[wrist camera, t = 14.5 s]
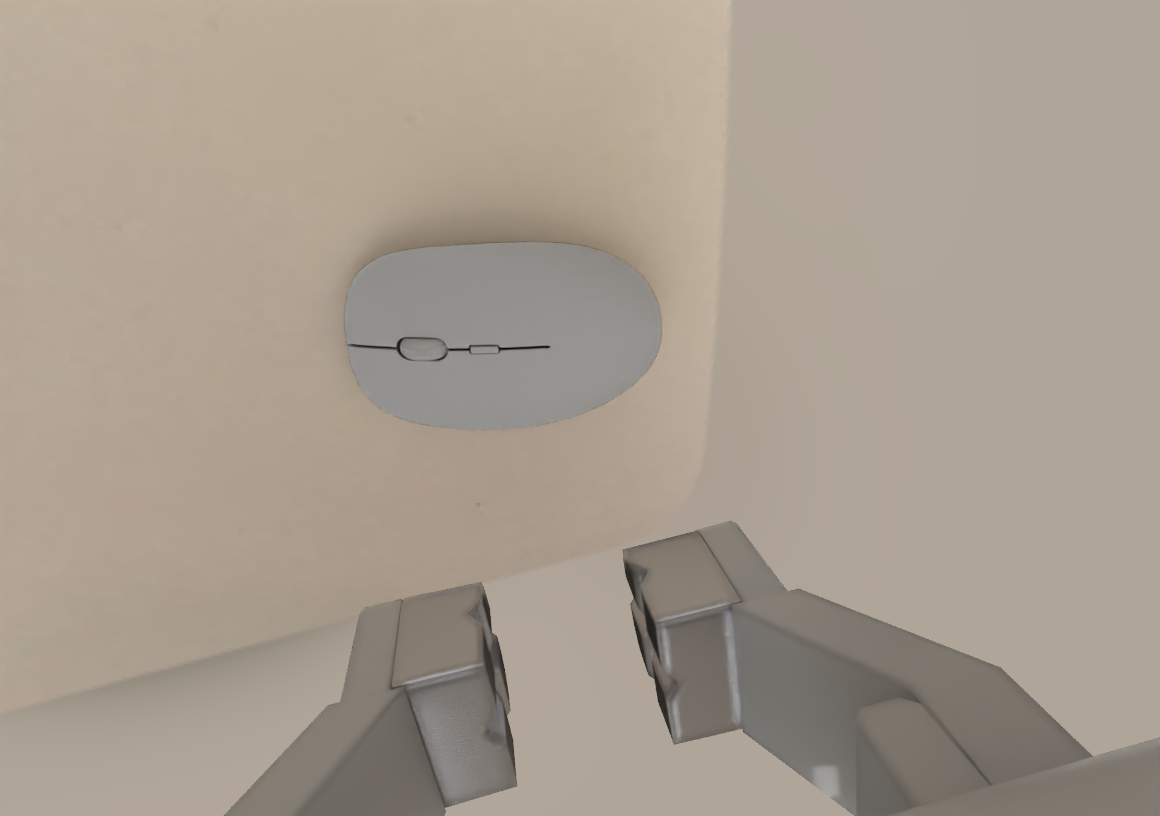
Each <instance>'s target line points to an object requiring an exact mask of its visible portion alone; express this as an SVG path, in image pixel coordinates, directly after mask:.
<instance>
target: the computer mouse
mask: <svg viewBox="0 0 1160 816" xmlns="http://www.w3.org/2000/svg"><path fill="white" fill-rule="evenodd" d="M344 322H345V335H346V343H347V349H348V353H349V358H350V362H351V366H352V369H353V372H354V374H355V377H356V379H357V381H358V384H359V385H360V387H361V388H362V390H363V392H364V393H365V395H366V396H367V397H368V398H369V399H370V400H371V401H372V402H373V403H374V404H375V405H376V406H378V407H379V408H380V409H382V410H384V411H385V412H387V413H389V414H391V415H394V416H396V417H398V418H401V419H404V420H407V421H411V422H414V423H418V424H423V425H428V426H434V427H440V428H449V429H460V430H504V429H516V428H525V427H532V426H538V425H544V424H548V423H553V422H557V421H561V420H564V419H567V418H571V417H574V416H576V415H579V414H582V413H585V412H587V411H590V410H592V409H594V408H596V407H599V406H601V405H603V404H605V403H607V402H608V401H610V400H612V399H614V398H615V397H617V396H619V395H620V394H622V393H623V392H625V391H626V390H627V389H629V388H630V387H631V386H633V385H634V384H635V383H636V382H637V381H638V380H639V379H640V378H641V377H642V376H643V375H644V374H645V373H646V372H647V370H648V369H649V368H650V366H651V365H652V363H653V361H654V359H655V358H656V355H657V353H658V350H659V347H660V343H661V336H662V319H661V313H660V308H659V304H658V301H657V299H656V297H655V294H654V292H653V290H652V289H651V287H650V285H649V284H648V283H647V281H646V280H645V279H644V277H643V276H642V275H641V274H640V273H639V272H638V271H637V270H635V269H634V268H633V267H632V266H631V265H629V264H628V263H626V262H625V261H623V260H621V259H620V258H618V257H616V256H614V255H611V254H609V253H607V252H604V251H601V250H598V249H594V248H590V247H586V246H581V245H575V244H567V243H555V242H499V243H480V244H463V245H447V246H433V247H422V248H414V249H407V250H402V251H397V252H393V253H390V254H387V255H384V256H381V257H379V258H377V259H375V260H373V261H371V262H370V263H368V264H367V265H366V266H364V267H363V268H362V269H361V270H360V271H359V272H358V274H357V275H356V276H355V278H354V279H353V281H352V283H351V285H350V288H349V290H348V294H347V297H346V303H345V316H344Z"/></svg>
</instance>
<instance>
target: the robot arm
mask: <svg viewBox="0 0 1160 816" xmlns="http://www.w3.org/2000/svg"><path fill="white" fill-rule="evenodd" d="M623 561H624V567H625V574H626V578H627V581H628V583H629V586H630V588H631V591H632V594H633V596H634V598H633V600H632V602H631V604H630V605H631V610H632V615H633V620H634V626H635V630H636V635H637V639H638V644H639V647H640V651H641V654H642V657H643V660H644V663H645V666H646V669H647V672H648V674H649V676H651V677H652V678H654V679H655V684H656V691H657V697H658V703H659V705H660V708H661V711H662V713H663V716H664V718H665V721H666V724H667V726H668V729H669V732H670V735H671V737H672V740H673V743H674V744H679V743H683V742H687V741H692V740H695V739H700V738H704V737H709V736H712V735H717V734H721V733H726V732H729V731H734V730H738V729H743V732H744V733H745V734H747V735H748V736H749V737H751V738H752V739H753V740H755V741H756V742H757V743H759V744H760V745H761V746H762V747H764V748H765V749H766V750H768V751H769V752H771V753H772V754H773V755H774V756H776V757H777V758H778V759H780V760H781V761H782V762H784V763H785V764H786V765H788V766H789V767H790V768H792V769H793V770H794V771H796V772H797V773H798V774H800V775H801V776H802V777H804V778H805V779H806V780H808V781H809V782H810V783H812V784H813V785H814V786H816V787H817V788H818V789H820V790H821V791H822V792H824V793H825V794H826V795H827V796H829V797H830V798H832V799H833V800H834V801H835V802H837V803H838V804H840V805H841V806H842V807H843V808H845V809H846V810H848V811H849V812H850V813H852V814H853V815H854V816H1160V738H1156V739H1153V740H1149V741H1146V742H1142V743H1139V744H1135V745H1132V746H1128V747H1125V748H1121V749H1118V750H1114V751H1111V752H1107V753H1104V754H1100V755H1097V756H1092V755H1091V754H1090V753H1089V752H1088V751H1087V750H1086V749H1085V748H1084V747H1083V746H1082V745H1081V744H1079V742H1077V741H1076V740H1075V739H1074V738H1073V737H1072V736H1071V735H1070V734H1069V733H1068V732H1067V731H1066V730H1065V729H1064V728H1063V727H1062V726H1061V725H1060V724H1059V723H1058V722H1057V721H1056V720H1054V718H1052V717H1051V716H1050V715H1049V714H1048V713H1047V712H1046V711H1045V710H1044V709H1043V708H1042V707H1041V706H1040V705H1039V704H1038V703H1037V702H1036V701H1035V700H1034V699H1033V698H1032V697H1031V696H1030V695H1029V694H1028V693H1026V692H1025V691H1024V690H1023V689H1022V688H1021V687H1020V686H1019V685H1018V684H1017V683H1016V682H1015V681H1014V680H1013V679H1012V678H1011V677H1010V676H1009V675H1008V674H1007V673H1006V672H1005V671H1004V670H1003V669H1001V668H1000V667H998V666H995V665H992V664H990V663H987V662H985V661H982V660H980V659H977V658H974V657H972V656H969V655H967V654H964V653H961V652H959V651H957V650H954V649H951V648H949V647H946V646H944V645H941V644H939V643H936V642H933V641H931V640H929V639H926V638H923V637H921V636H918V635H916V634H913V633H911V632H908V631H906V630H903V629H900V628H898V627H895V626H893V625H890V624H888V623H885V622H882V621H880V620H877V619H875V618H872V617H870V616H867V615H865V614H862V613H860V612H857V611H854V610H852V609H849V608H847V607H844V606H842V605H839V604H837V603H834V602H831V601H829V600H826V599H824V598H821V597H819V596H816V595H813V594H811V593H808V592H806V591H803V590H801V589H795V590H791V591H787V590H786V588H785V587H784V586H783V585H782V583H781V582H780V581H779V579H778V578H777V577H776V575H775V574H774V573H773V571H772V570H771V569H770V567H769V566H768V565H767V564H766V562H765V561H764V559H763V558H762V557H761V556H760V554H759V553H758V551H757V550H756V549H755V547H754V546H753V545H752V543H751V542H750V541H749V539H748V538H747V537H746V535H745V534H744V533H743V532H742V530H741V529H740V528H739V526H738V525H737V524H736V523H734V522H732V521H728V522H724V523H721V524H717V525H714V526H710V527H706V528H703V529H699V530H696V531H694V532H690V533H686V534H682V535H678V536H674V537H670V538H666V539H663V540H658V541H655V542H651V543H647V544H643V545H639V546H635V547H631V548H627V549H623ZM509 712H510V703H509V694H508V687H507V681H506V675H505V668H504V664H503V659H502V654H501V650H500V646H499V642H498V638H497V636H496V635H494V634H493V633H492V629H491V616H490V608H489V604H488V600H487V597H486V594H485V590H484V587H483V585H482V583H481V582H478V583H474V584H469V585H464V586H460V587H455V588H450V589H446V590H441V591H436V592H432V593H427V594H422V595H418V596H413V597H408V598H405V599H404V600H402V599H399V600H394V601H390V602H386V603H382V604H378V605H374V606H369V607H365V608H364V609H363V610H362V612H361V613H360V615H359V618H358V623H357V628H356V633H355V637H354V642H353V646H352V651H351V655H350V660H349V665H348V669H347V674H346V679H345V683H344V688H343V692H342V697H341V702H339V703H335V704H331V705H328V706H327V707H326V708H325V709H324V710H323V711H322V712H321V713H320V714H319V715H318V717H317V718H316V719H315V720H314V721H313V722H312V723H311V724H310V725H309V726H308V727H307V728H306V729H305V730H304V731H303V732H302V733H301V735H300V736H299V737H298V738H297V739H296V740H295V741H294V742H293V743H292V744H291V745H290V746H289V747H288V748H287V749H286V750H285V751H284V753H283V754H282V755H281V756H280V757H279V758H278V759H277V760H276V761H275V762H274V763H273V764H272V765H271V766H270V767H269V768H268V769H267V770H266V772H265V773H264V774H263V775H262V776H261V777H260V778H259V779H258V780H257V781H256V782H255V783H254V784H253V785H252V786H251V788H250V789H249V790H248V791H247V792H246V793H245V794H244V795H243V796H242V797H241V798H240V799H239V800H238V801H237V802H236V803H235V805H234V806H233V807H232V808H231V809H230V810H229V811H228V812H227V813H226V814H225V815H224V816H444V815H445V813H446V811H445V807H449V806H452V805H455V804H459V803H462V802H465V801H468V800H472V799H476V798H479V797H482V796H486V795H489V794H493V793H496V792H499V791H503V790H506V789H509V788H513V787H516V786H517V781H516V769H515V758H514V746H513V738H512V734H511V730H510V726H509V722H508V718H507V715H508V713H509Z"/></svg>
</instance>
